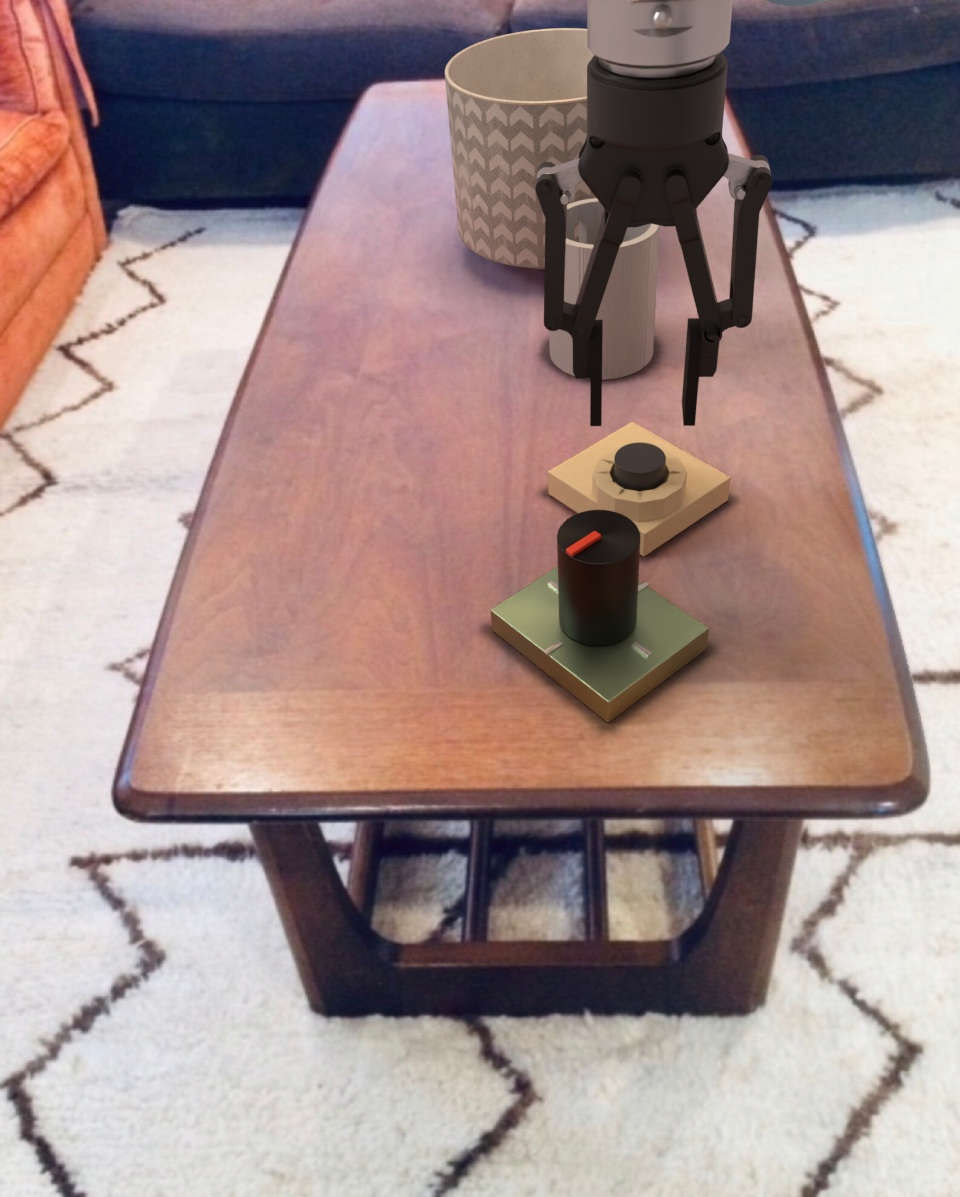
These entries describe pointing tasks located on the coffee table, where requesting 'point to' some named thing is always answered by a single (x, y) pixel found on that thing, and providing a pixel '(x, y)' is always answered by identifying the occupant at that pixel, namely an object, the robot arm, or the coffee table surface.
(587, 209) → the cup
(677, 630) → the dial panel
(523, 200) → the planter
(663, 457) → the button
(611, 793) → the coffee table surface
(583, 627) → the knob
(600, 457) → the button box
